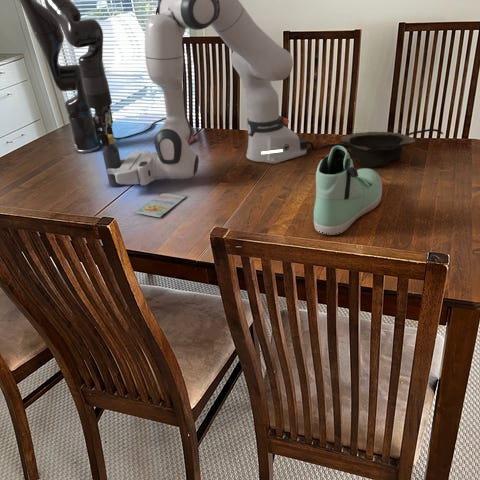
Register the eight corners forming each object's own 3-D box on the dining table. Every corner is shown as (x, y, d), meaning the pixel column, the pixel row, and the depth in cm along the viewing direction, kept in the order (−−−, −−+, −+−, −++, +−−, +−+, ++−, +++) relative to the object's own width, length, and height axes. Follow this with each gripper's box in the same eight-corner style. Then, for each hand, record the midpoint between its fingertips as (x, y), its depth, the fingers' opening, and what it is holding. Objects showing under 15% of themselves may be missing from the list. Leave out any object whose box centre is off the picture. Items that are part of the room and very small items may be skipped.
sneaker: (389, 187, 148) (396, 123, 138) (356, 242, 123) (361, 168, 112) (346, 181, 154) (350, 119, 144) (306, 232, 129) (307, 161, 118)
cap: (112, 139, 160) (111, 133, 159) (115, 142, 157) (114, 136, 156) (101, 142, 159) (100, 135, 157) (104, 145, 156) (102, 138, 155)
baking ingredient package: (135, 211, 145) (163, 192, 156) (135, 213, 145) (163, 193, 156) (159, 216, 141) (186, 195, 153) (159, 217, 141) (186, 197, 153)
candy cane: (162, 149, 191) (161, 146, 190) (186, 137, 201) (185, 134, 201) (173, 152, 188) (172, 148, 187) (197, 139, 198) (197, 136, 197)
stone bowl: (372, 178, 154) (373, 150, 150) (326, 159, 175) (325, 135, 170) (429, 159, 163) (431, 132, 159) (379, 144, 183) (379, 120, 179)
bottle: (125, 185, 164) (116, 138, 155) (110, 188, 163) (99, 141, 154) (124, 179, 168) (115, 134, 160) (109, 182, 167) (98, 136, 159)
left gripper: (90, 85, 155) (102, 135, 164) (78, 97, 143) (91, 150, 152) (113, 83, 155) (123, 133, 164) (103, 95, 143) (115, 148, 151)
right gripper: (157, 146, 168) (119, 147, 170) (140, 169, 151) (98, 170, 152) (159, 162, 171) (122, 163, 173) (144, 187, 154) (102, 188, 156)
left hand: (108, 141), depth 158 cm, fingers open, 6 cm apart
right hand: (111, 167), depth 162 cm, fingers closed on bottle, 5 cm apart
